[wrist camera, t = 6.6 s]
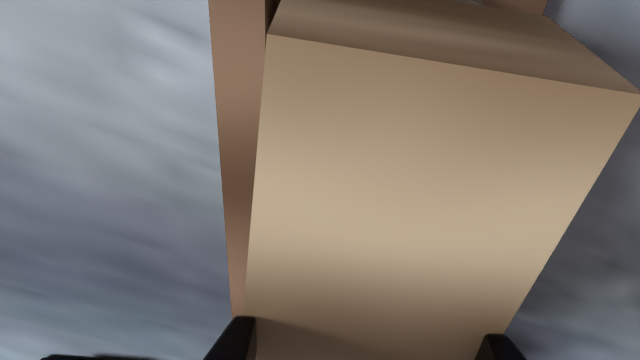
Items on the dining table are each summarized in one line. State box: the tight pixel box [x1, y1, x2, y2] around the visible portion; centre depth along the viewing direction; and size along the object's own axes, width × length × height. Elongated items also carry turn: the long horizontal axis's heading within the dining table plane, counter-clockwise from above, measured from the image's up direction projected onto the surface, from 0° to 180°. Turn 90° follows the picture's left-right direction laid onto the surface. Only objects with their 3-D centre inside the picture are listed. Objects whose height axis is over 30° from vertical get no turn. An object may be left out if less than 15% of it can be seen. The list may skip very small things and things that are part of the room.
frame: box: [208, 0, 548, 319], centre depth 13 cm, size 19×8×6 cm, turn 177°
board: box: [243, 0, 640, 360], centre depth 11 cm, size 12×5×4 cm, turn 171°
